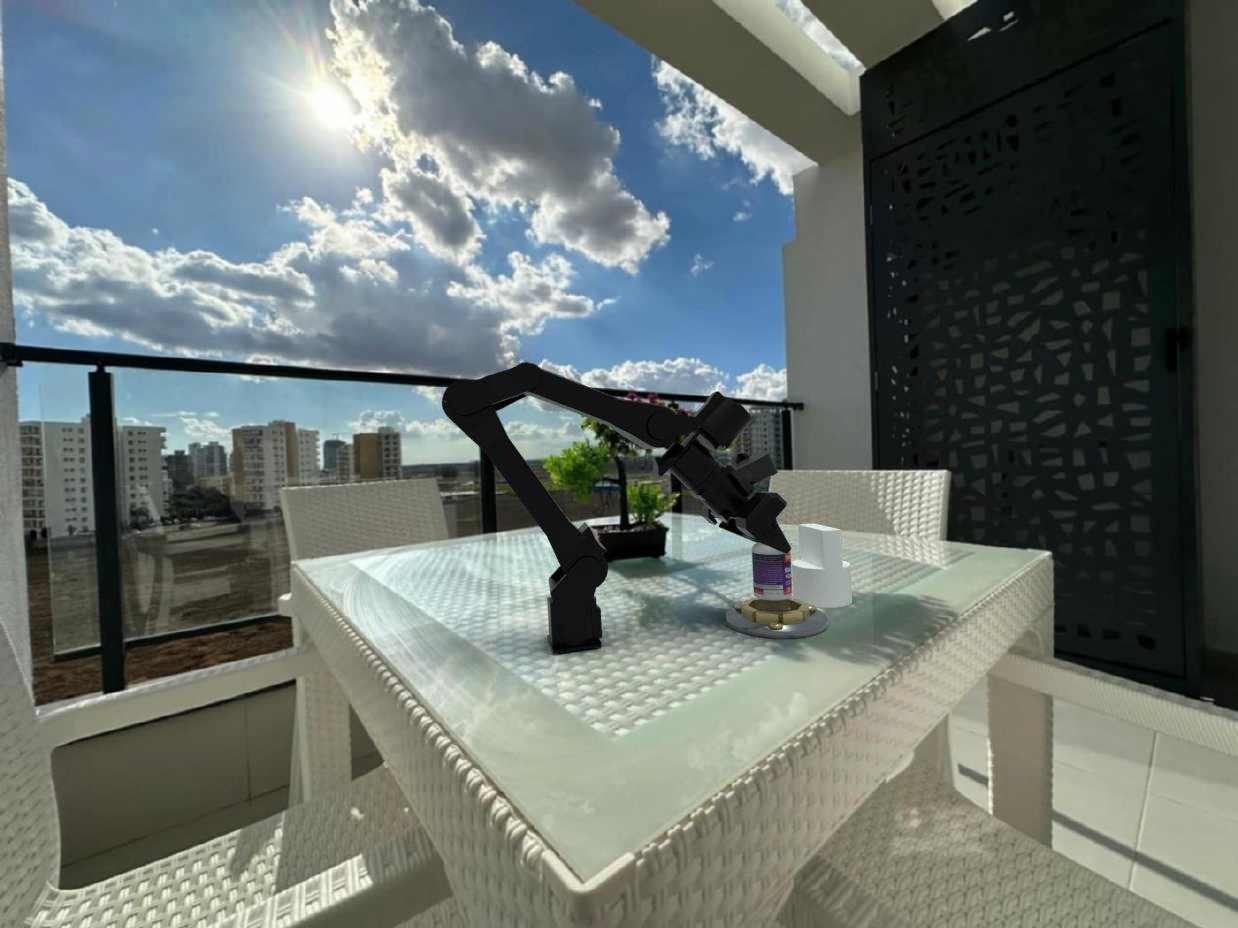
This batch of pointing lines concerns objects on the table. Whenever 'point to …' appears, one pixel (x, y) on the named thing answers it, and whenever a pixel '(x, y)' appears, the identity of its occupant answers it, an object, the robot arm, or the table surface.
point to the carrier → (776, 618)
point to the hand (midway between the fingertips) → (779, 547)
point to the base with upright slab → (821, 568)
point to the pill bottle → (771, 573)
